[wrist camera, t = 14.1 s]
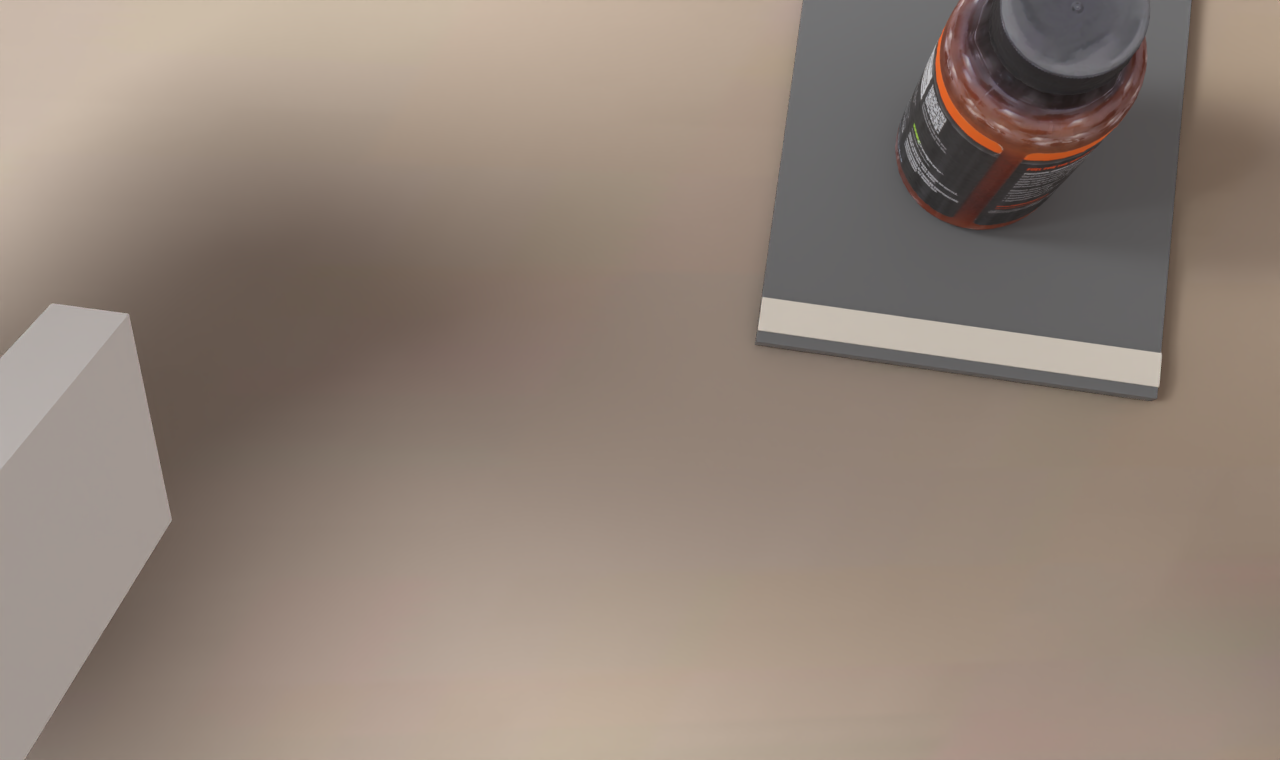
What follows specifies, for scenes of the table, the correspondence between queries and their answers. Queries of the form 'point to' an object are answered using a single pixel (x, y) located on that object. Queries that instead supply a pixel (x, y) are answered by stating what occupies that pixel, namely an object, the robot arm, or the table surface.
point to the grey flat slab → (960, 257)
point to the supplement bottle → (1017, 103)
